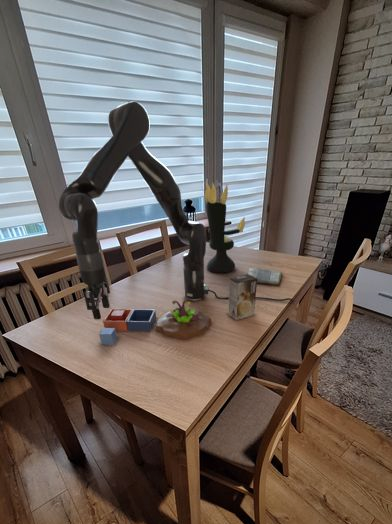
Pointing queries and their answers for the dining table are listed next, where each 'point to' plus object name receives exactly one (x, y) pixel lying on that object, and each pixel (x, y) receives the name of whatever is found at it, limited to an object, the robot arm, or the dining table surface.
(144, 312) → the slate bin
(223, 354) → the dining table surface
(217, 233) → the candelabra
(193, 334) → the plant
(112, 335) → the blue block
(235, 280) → the coffee box
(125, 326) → the terracotta bin
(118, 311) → the brick block
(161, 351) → the dining table surface
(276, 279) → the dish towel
